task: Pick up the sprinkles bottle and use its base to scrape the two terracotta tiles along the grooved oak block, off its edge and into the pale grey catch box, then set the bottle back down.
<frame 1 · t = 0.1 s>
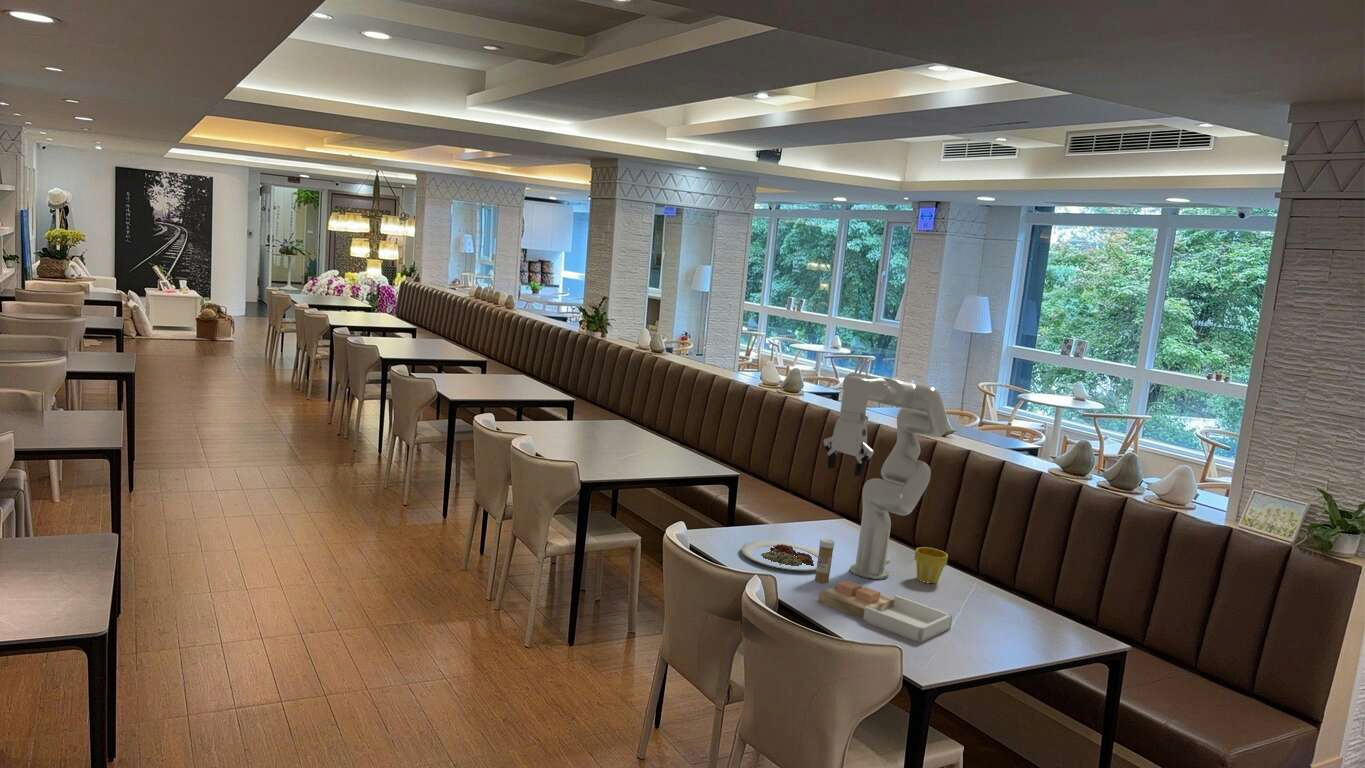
hand: (844, 471, 289), 37 cm above the table, tool pointing down, fingers open, 9 cm apart
rear tile: (848, 592, 281), point 3 cm above the table, touching grooved oak block
plant pot: (927, 581, 310), on the table
catch box: (906, 624, 268), on the table
front tile: (867, 599, 276), point 3 cm above the table, touching grooved oak block
plated food: (785, 560, 317), on the table
sprinkles bottle: (821, 581, 298), on the table
grooved oak block: (855, 605, 279), on the table
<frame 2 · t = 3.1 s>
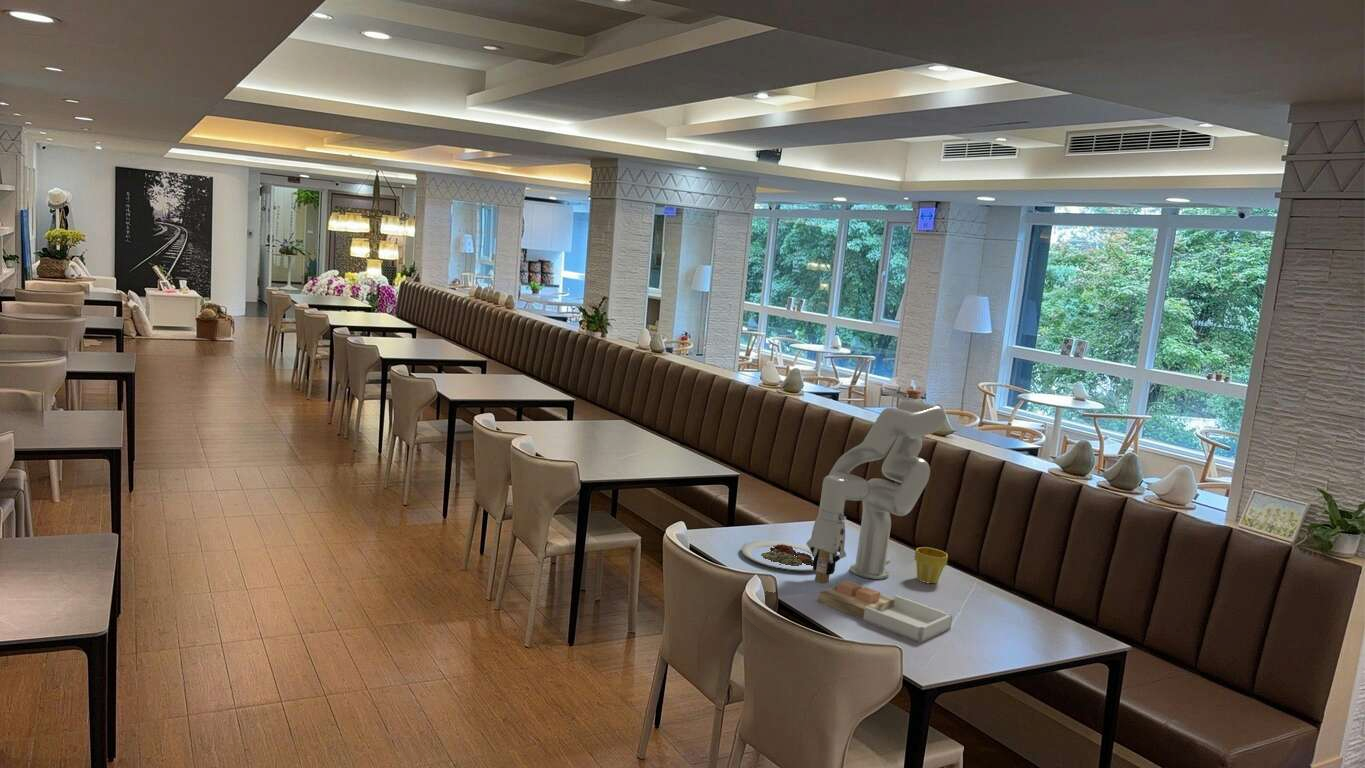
hand: (823, 571, 297), 3 cm above the table, tool pointing down, fingers closed on sprinkles bottle, 4 cm apart
sprinkles bottle: (821, 581, 298), on the table, touching gripper
everything else where it was.
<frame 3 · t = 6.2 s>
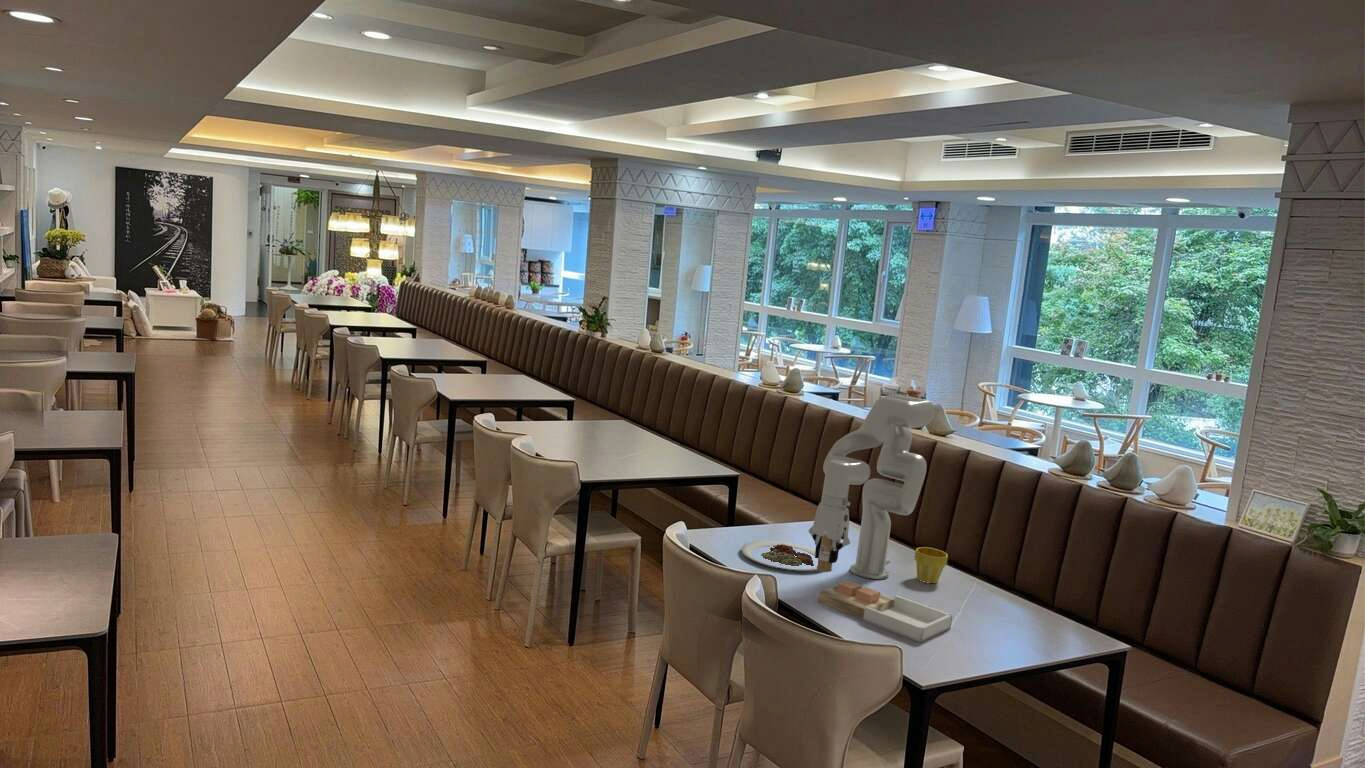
hand: (825, 559, 285), 11 cm above the table, tool pointing down, fingers closed on sprinkles bottle, 4 cm apart
sprinkles bottle: (824, 570, 286), point 7 cm above the table, touching gripper
everything else where it was.
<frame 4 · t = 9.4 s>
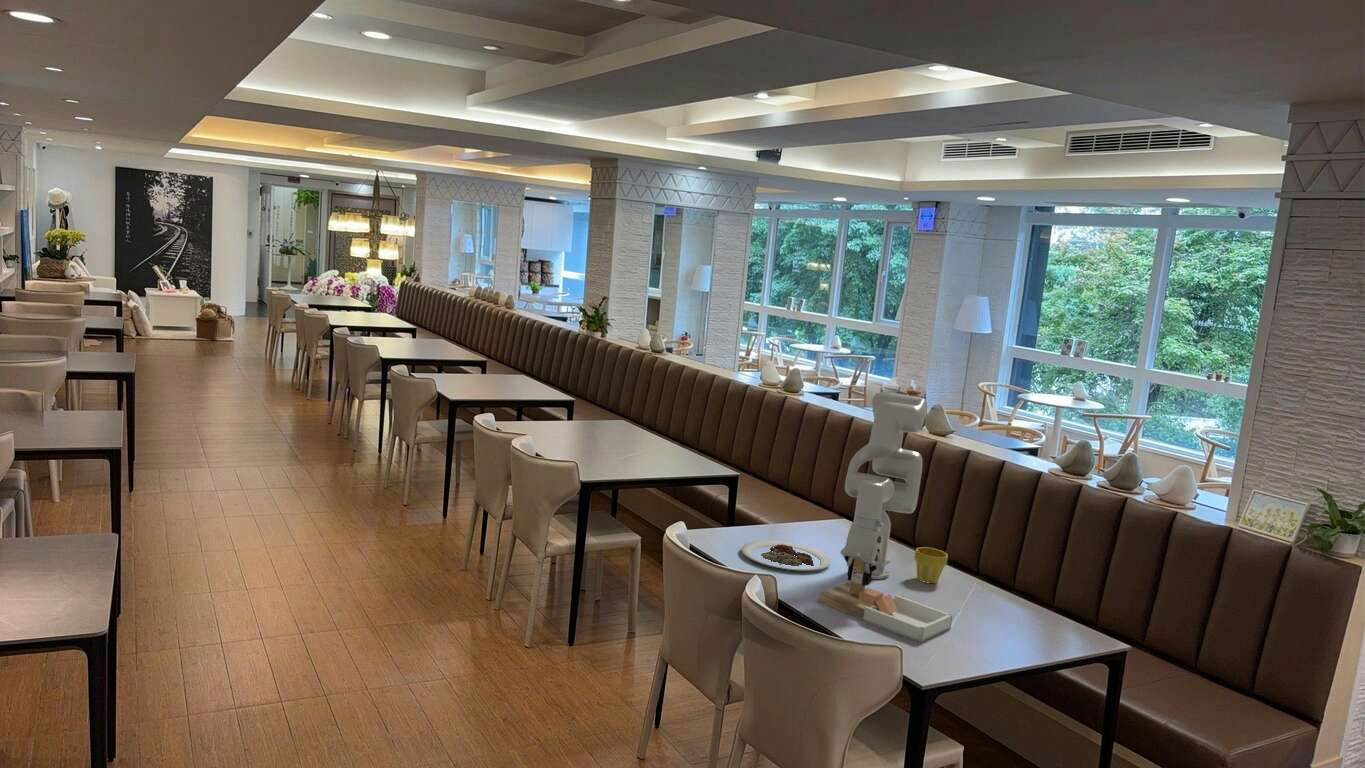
hand: (858, 581, 278), 7 cm above the table, tool pointing down, fingers closed on sprinkles bottle, 4 cm apart
rear tile: (870, 600, 276), point 3 cm above the table
front tile: (883, 607, 273), point 2 cm above the table, tilted 49°, touching catch box
sprinkles bottle: (856, 593, 279), point 4 cm above the table, touching gripper
everything else where it was.
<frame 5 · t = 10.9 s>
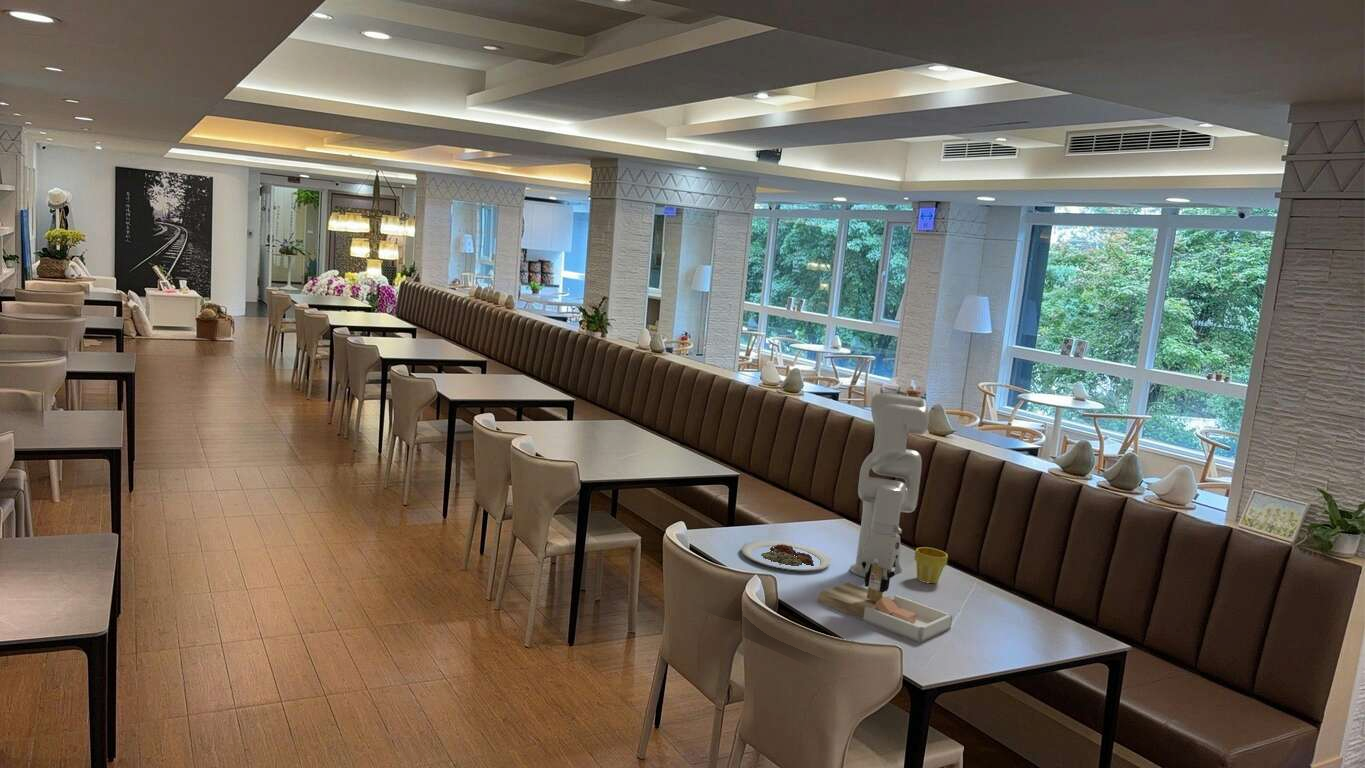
hand: (876, 587, 274), 7 cm above the table, tool pointing down, fingers closed on sprinkles bottle, 4 cm apart
rear tile: (884, 609, 272), point 2 cm above the table, tilted 33°, touching catch box, grooved oak block, sprinkles bottle
front tile: (904, 612, 268), point 3 cm above the table, tilted 180°, touching catch box
sprinkles bottle: (874, 599, 275), point 4 cm above the table, touching gripper, rear tile
everything else where it was.
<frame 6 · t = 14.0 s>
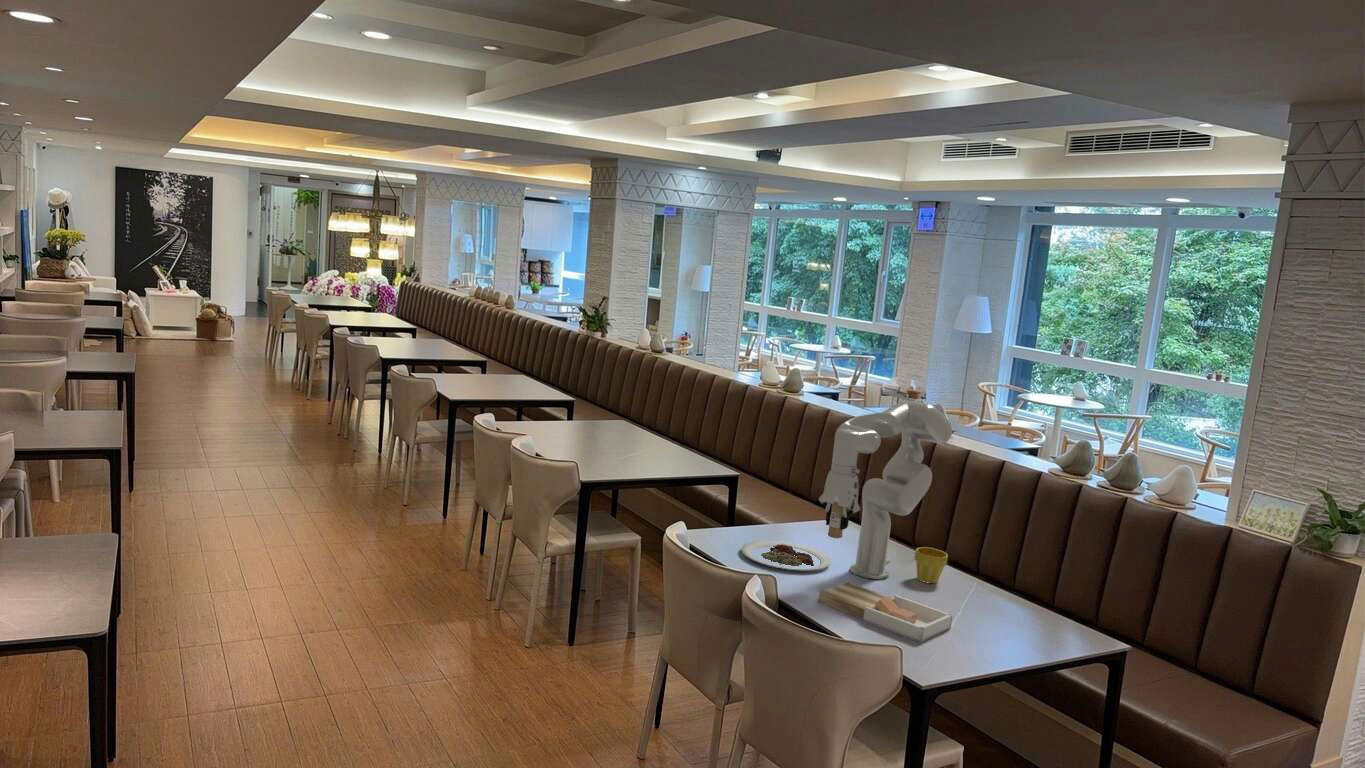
hand: (836, 526, 293), 19 cm above the table, tool pointing down, fingers closed on sprinkles bottle, 4 cm apart
rear tile: (885, 610, 272), point 2 cm above the table, tilted 31°, touching catch box, front tile, grooved oak block
front tile: (904, 612, 268), point 3 cm above the table, tilted 180°, touching catch box, rear tile
sprinkles bottle: (834, 537, 293), point 15 cm above the table, touching gripper
everything else where it was.
when the fingers open (4 cm above the table, at t = 17.1 s): sprinkles bottle stays where it is, on the table.
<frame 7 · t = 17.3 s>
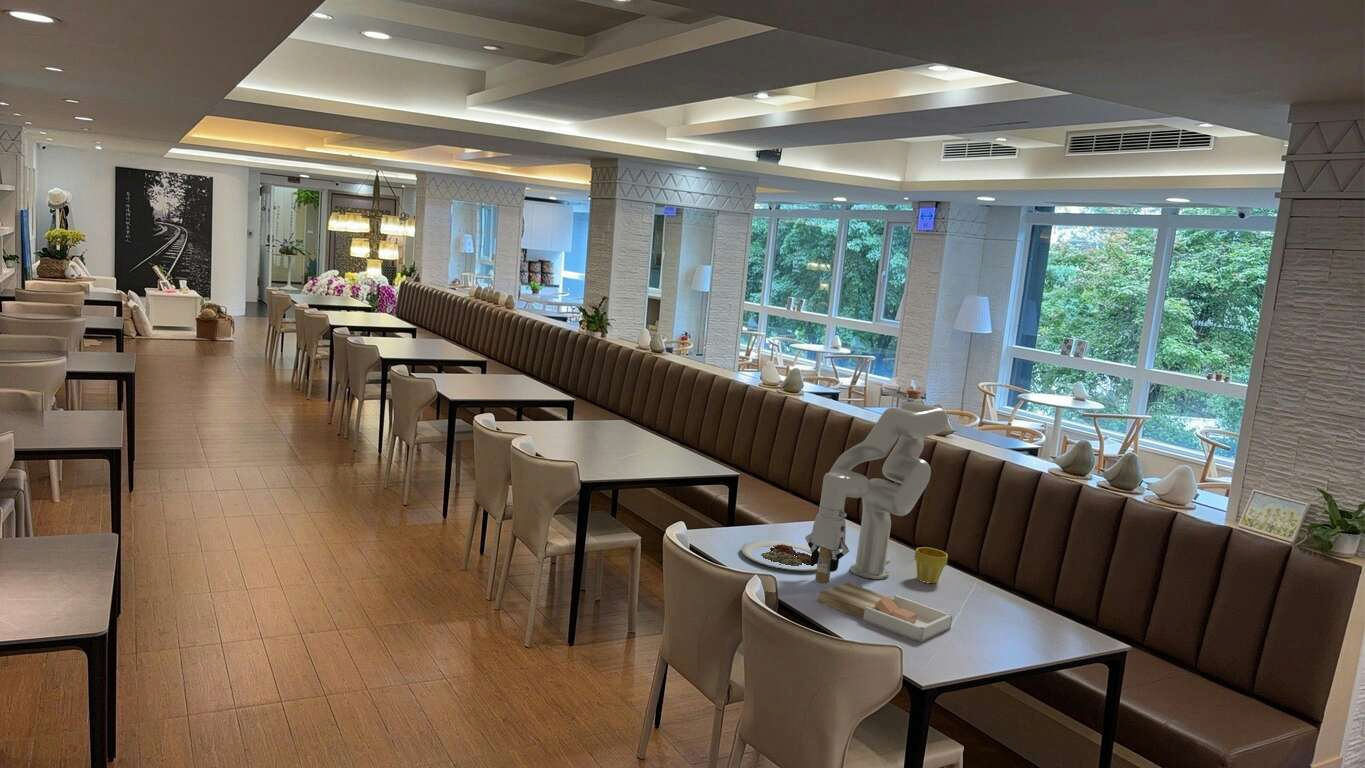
hand: (823, 567, 297), 5 cm above the table, tool pointing down, fingers open, 6 cm apart
sprinkles bottle: (822, 582, 297), on the table
everything else where it was.
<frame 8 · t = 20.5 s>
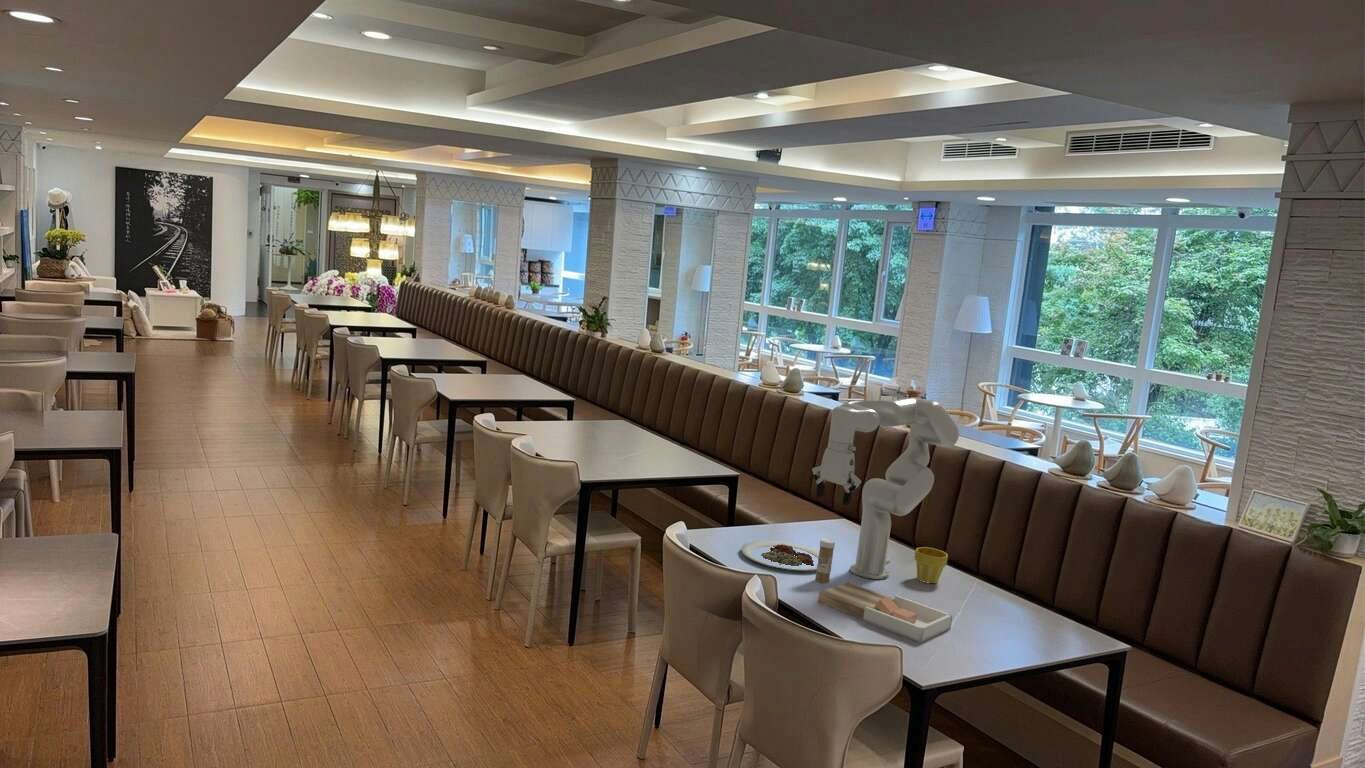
hand: (832, 500, 294), 26 cm above the table, tool pointing down, fingers open, 9 cm apart
nothing on the table moved.
at the end: front tile inside the target area on the catch box (1.5 cm from its centre), point 3.1 cm above the catch box's base; rear tile inside the target area on the catch box (7.5 cm from its centre), point 1.9 cm above the catch box's base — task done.
